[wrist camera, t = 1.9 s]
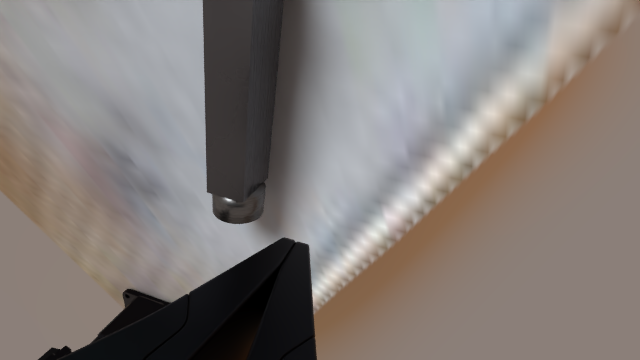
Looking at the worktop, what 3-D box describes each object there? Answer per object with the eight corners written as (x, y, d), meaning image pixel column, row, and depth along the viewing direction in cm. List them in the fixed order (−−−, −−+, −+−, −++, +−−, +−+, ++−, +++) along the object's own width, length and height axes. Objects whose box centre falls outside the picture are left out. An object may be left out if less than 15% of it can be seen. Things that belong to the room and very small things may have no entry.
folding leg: (243, -95, 12) (170, -161, 8) (305, -87, 12) (260, -153, 8) (234, 186, 18) (191, 224, 15) (275, 198, 18) (241, 239, 14)
